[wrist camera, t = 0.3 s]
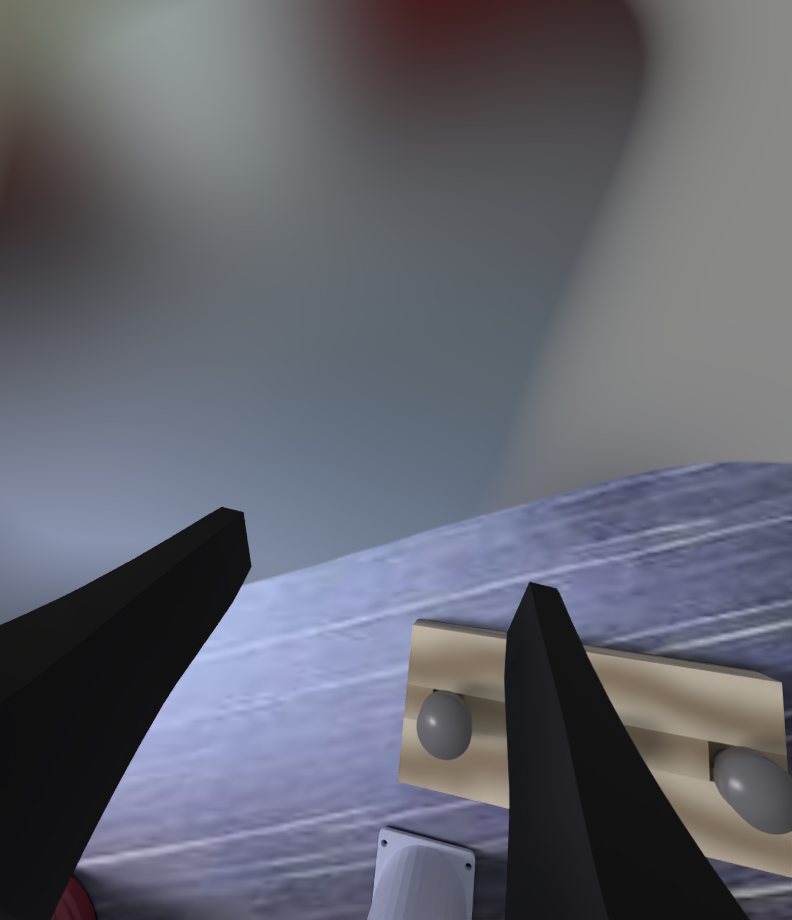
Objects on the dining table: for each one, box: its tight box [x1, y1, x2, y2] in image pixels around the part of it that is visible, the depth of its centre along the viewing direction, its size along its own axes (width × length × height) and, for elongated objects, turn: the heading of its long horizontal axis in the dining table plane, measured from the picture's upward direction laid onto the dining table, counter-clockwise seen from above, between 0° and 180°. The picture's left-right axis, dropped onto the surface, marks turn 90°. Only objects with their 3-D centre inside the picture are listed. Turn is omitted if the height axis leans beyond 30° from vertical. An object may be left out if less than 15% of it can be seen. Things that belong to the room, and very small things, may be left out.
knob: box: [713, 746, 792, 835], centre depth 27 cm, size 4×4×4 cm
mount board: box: [398, 619, 792, 878], centre depth 32 cm, size 12×27×3 cm, turn 83°
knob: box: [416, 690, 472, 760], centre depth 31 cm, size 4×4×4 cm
